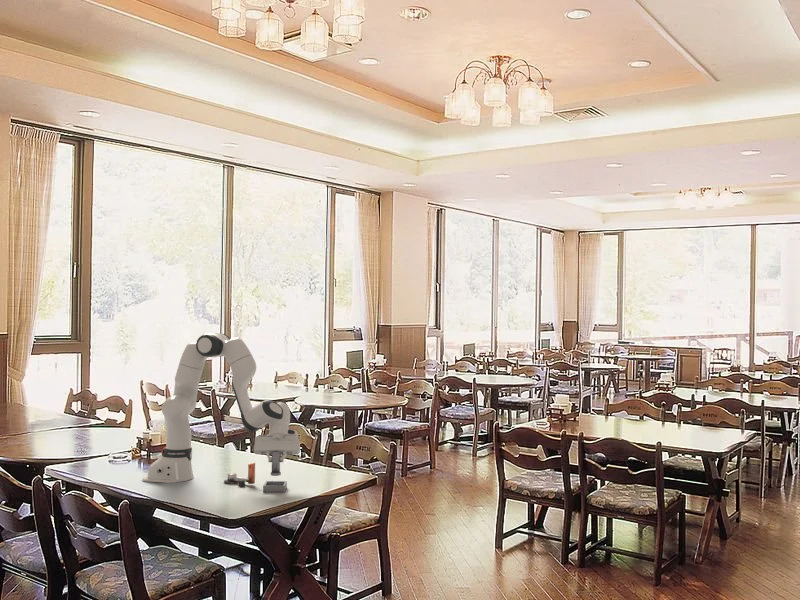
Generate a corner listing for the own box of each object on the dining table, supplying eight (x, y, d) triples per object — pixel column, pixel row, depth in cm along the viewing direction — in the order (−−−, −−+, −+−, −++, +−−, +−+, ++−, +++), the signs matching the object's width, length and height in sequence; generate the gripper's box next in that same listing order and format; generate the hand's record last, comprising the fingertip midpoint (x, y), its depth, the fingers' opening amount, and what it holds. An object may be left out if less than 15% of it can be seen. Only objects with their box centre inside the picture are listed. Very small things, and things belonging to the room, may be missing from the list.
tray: (263, 492, 328) (263, 485, 328) (265, 487, 337) (265, 481, 337) (284, 492, 328) (284, 486, 328) (286, 487, 337) (286, 481, 337)
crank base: (222, 484, 341) (222, 482, 341) (225, 480, 348) (225, 478, 348) (238, 484, 341) (238, 482, 341) (240, 480, 348) (241, 479, 348)
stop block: (238, 486, 338) (238, 480, 338) (242, 485, 339) (242, 480, 339) (240, 486, 337) (241, 481, 337) (244, 486, 338) (244, 480, 338)
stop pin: (270, 475, 330) (270, 452, 330) (271, 473, 334) (271, 450, 335) (280, 475, 330) (280, 452, 330) (281, 473, 335) (281, 450, 335)
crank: (225, 480, 344) (226, 461, 344) (231, 478, 348) (231, 459, 348) (251, 484, 337) (251, 464, 337) (256, 482, 341) (257, 463, 341)
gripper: (254, 431, 339) (251, 457, 329) (300, 431, 340) (298, 457, 330) (256, 439, 343) (252, 465, 334) (301, 439, 344) (299, 465, 334)
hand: (275, 461), depth 332 cm, fingers closed on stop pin, 4 cm apart
